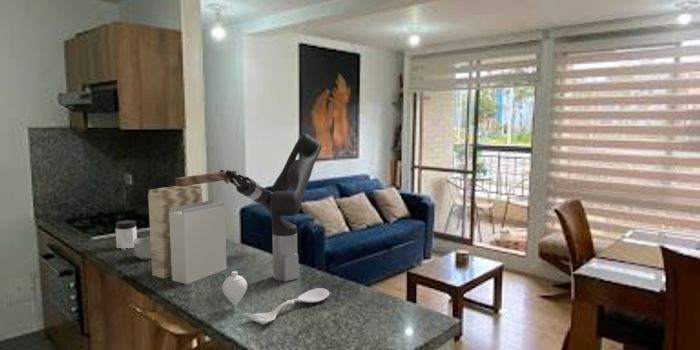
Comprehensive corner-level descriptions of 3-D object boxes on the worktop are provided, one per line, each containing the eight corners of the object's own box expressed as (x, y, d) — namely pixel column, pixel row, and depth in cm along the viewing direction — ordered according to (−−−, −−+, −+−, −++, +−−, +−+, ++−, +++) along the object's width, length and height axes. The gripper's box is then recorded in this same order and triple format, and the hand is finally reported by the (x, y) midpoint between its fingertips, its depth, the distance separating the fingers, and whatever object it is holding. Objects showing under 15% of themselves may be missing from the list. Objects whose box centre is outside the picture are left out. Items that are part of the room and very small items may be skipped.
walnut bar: (231, 177, 194) (230, 170, 193) (236, 178, 192) (236, 171, 192) (175, 186, 169) (175, 178, 169) (181, 186, 168) (181, 178, 168)
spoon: (242, 323, 137) (241, 312, 137) (315, 292, 162) (315, 283, 162) (262, 332, 132) (262, 320, 131) (334, 298, 157) (334, 288, 156)
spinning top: (221, 305, 150) (220, 269, 149) (245, 302, 153) (244, 266, 152) (224, 314, 143) (223, 277, 142) (249, 310, 146) (248, 273, 145)
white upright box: (212, 266, 191) (210, 200, 188) (226, 269, 187) (224, 202, 184) (172, 280, 174) (168, 208, 170) (186, 284, 170) (183, 210, 166)
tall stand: (193, 261, 196) (190, 183, 193) (204, 264, 193) (201, 184, 189) (152, 275, 179) (147, 189, 175) (164, 278, 176) (160, 191, 172)
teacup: (165, 257, 203) (164, 239, 202) (140, 263, 195) (139, 244, 194) (151, 251, 212) (150, 234, 211) (127, 256, 204) (126, 238, 203)
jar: (117, 250, 214) (116, 224, 213) (115, 246, 221) (114, 221, 219) (138, 247, 219) (137, 222, 218) (135, 243, 226) (134, 219, 224)
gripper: (240, 179, 206) (214, 163, 192) (264, 181, 199) (239, 164, 185) (234, 195, 204) (208, 179, 190) (259, 197, 197) (233, 181, 183)
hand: (223, 172), depth 188 cm, fingers closed on walnut bar, 3 cm apart
